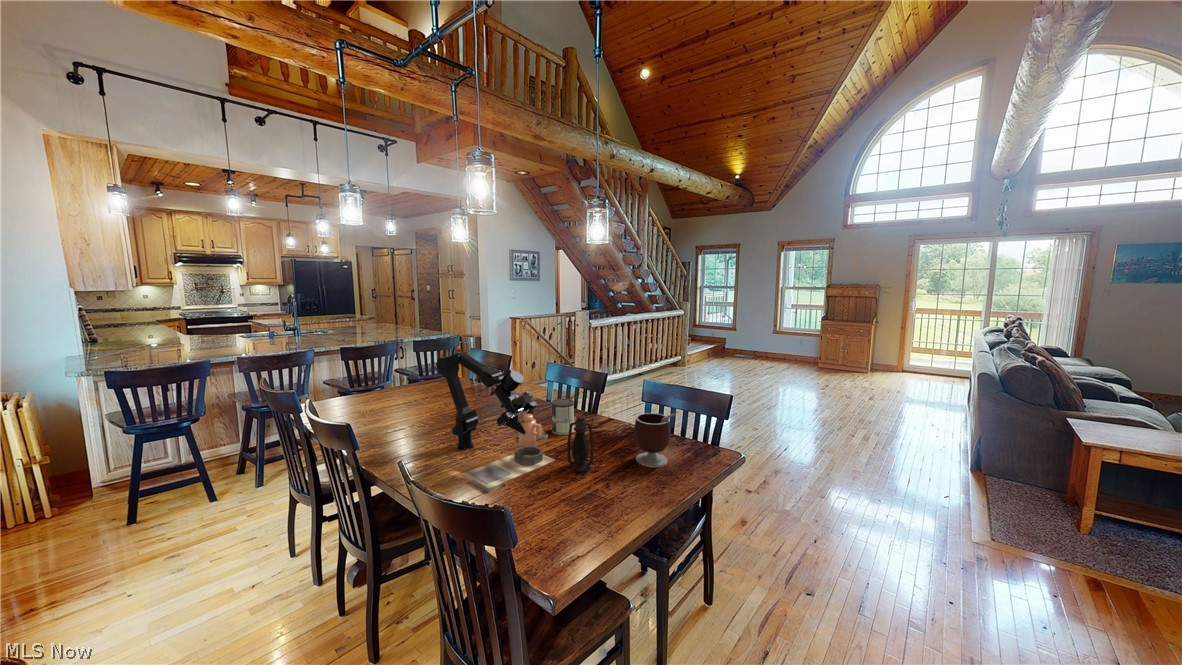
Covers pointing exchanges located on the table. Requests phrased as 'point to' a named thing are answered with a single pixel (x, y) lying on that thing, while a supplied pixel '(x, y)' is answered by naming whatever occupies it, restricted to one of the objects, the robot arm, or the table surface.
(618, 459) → the table surface
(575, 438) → the lantern
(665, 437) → the mate gourd
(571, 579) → the table surface
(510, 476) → the board
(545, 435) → the ceramic mug
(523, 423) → the peach jug
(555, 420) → the coffee can
